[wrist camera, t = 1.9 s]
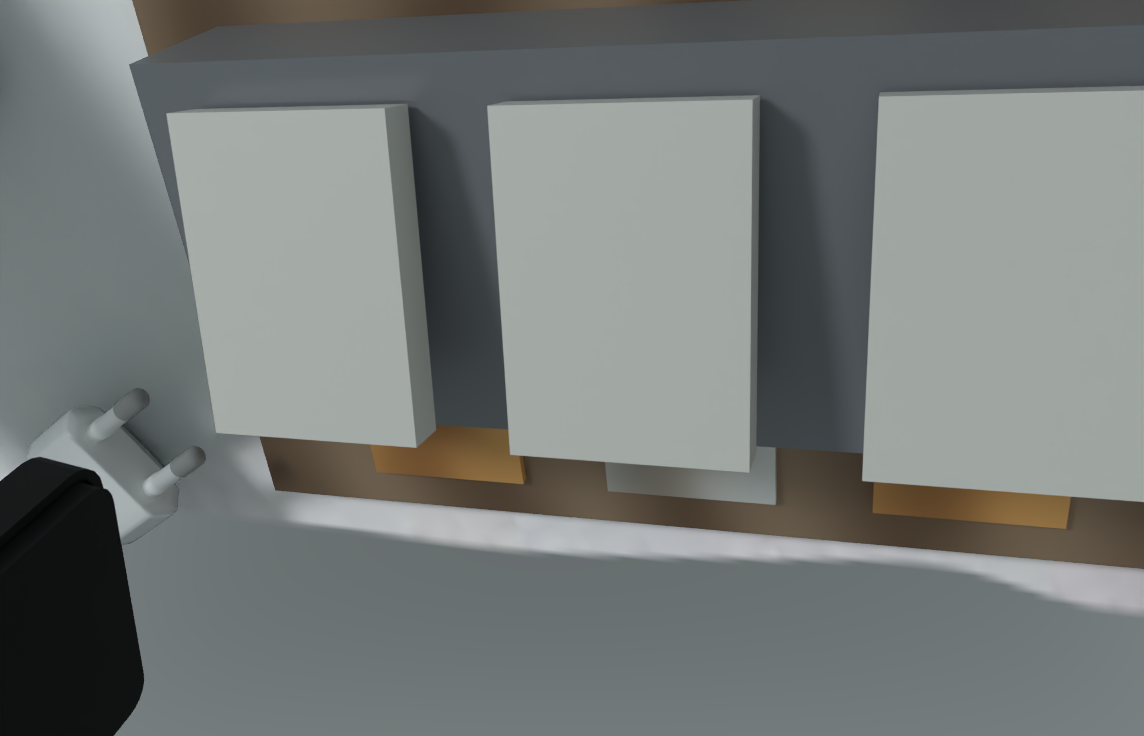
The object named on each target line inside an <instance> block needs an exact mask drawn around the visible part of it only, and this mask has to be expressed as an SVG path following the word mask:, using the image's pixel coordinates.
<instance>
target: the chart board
mask: <svg viewBox="0 0 1144 736" xmlns="http://www.w3.org/2000/svg"><path fill="white" fill-rule="evenodd" d="M132 1H133V4H134V8H135V11H136V15H137V18H138V22H139V25H140V28H141V32H142V35H143V39H144V42H145V46H146V49H147V52H148V56H150V55H153V54H155V53H157V52H159V51H162V50H164V49H166V48H169V47H171V46H173V45H176V44H178V43H180V42H183V41H185V40H187V39H190V38H192V37H194V36H197V35H199V34H201V33H204V32H206V31H208V30H211V29H213V28H215V27H218V26H237V25H257V24H278V23H298V22H318V21H338V20H358V19H378V18H399V17H419V16H439V15H459V14H479V13H500V12H520V11H540V10H560V9H580V8H600V7H621V6H641V5H661V4H681V3H701V2H721V1H742V0H132ZM260 439H261V443H262V446H263V450H264V453H265V456H266V460H267V463H268V467H269V470H270V474H271V477H272V480H273V484H274V487H275V490H278V491H289V492H300V493H311V494H322V495H333V496H344V497H355V498H366V499H377V500H388V501H400V502H411V503H422V504H433V505H444V506H455V507H466V508H477V509H488V510H499V511H510V512H521V513H532V514H543V515H555V516H566V517H577V518H588V519H599V520H610V521H621V522H632V523H643V524H654V525H665V526H676V527H687V528H698V529H710V530H721V531H732V532H743V533H754V534H765V535H776V536H787V537H798V538H809V539H820V540H831V541H842V542H853V543H865V544H876V545H887V546H898V547H909V548H920V549H931V550H942V551H953V552H964V553H975V554H986V555H997V556H1008V557H1020V558H1031V559H1042V560H1053V561H1064V562H1075V563H1086V564H1097V565H1108V566H1119V567H1130V568H1141V569H1144V502H1137V501H1124V500H1110V499H1097V498H1084V497H1070V496H1057V495H1043V494H1030V493H1016V492H1003V491H989V490H976V489H963V488H949V487H936V486H922V485H909V484H895V483H882V482H869V481H862V472H863V453H849V452H834V451H819V450H804V449H789V448H774V447H760V446H756V454H755V457H754V460H753V463H752V466H751V469H750V472H749V473H748V472H734V471H721V470H707V469H694V468H681V467H667V466H654V465H640V464H627V463H613V462H600V461H587V460H573V459H560V458H546V457H533V456H519V455H510V445H509V430H507V429H493V428H478V427H463V426H448V425H436V431H435V432H434V433H432V434H431V435H430V436H429V437H428V438H427V439H426V440H425V441H424V442H422V443H421V444H420V445H419V446H418V447H417V448H412V447H398V446H385V445H372V444H358V443H345V442H331V441H318V440H304V439H291V438H278V437H264V436H260Z"/></svg>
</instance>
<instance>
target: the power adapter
mask: <svg viewBox="0 0 1144 736" xmlns="http://www.w3.org/2000/svg"><path fill="white" fill-rule="evenodd" d="M149 401H150V398H149V395H148V393H147V392H146V391H145V390H143V389H140V388H136V389H133V390H131V391H130V392H128V393H127V394H126V395H125V396H124V397H122V398H121V399H120V400H119V401H118V402H117V403H115V404H114V406H113V407H112V408H111V409H110V410H109V411H107V412H104V411H103V410H102V409H100V408H99V407H73V408H72V409H70V410H69V411H67V412H66V413H65V414H64V415H62V416H61V417H60V418H59V419H58V420H57V421H56V422H54V423H53V424H52V425H51V426H50V427H49V428H47V429H46V430H45V431H44V432H43V433H42V434H41V435H39V436H38V437H37V438H36V439H35V440H34V441H33V442H32V443H31V444H30V446H29V450H28V455H27V460H29V459H31V458H36V457H43V458H47V459H51V460H55V461H59V462H63V463H67V464H70V465H74V466H78V467H82V468H86V469H89V470H93V471H95V472H96V473H97V474H98V475H99V476H100V478H101V481H102V484H103V488H104V489H108V491H109V492H110V493H111V494H112V497H113V500H114V504H115V510H116V516H117V522H118V527H119V533H120V539H121V545H124V544H129V543H132V542H134V541H135V540H137V539H139V538H140V537H142V536H143V535H144V534H146V533H147V532H149V531H150V530H151V529H153V528H154V527H156V526H157V525H159V524H160V523H162V522H163V521H164V520H166V519H167V518H169V517H170V516H171V515H173V514H174V513H175V512H176V511H177V507H178V492H179V488H178V486H177V485H176V484H175V483H176V482H177V481H179V480H180V479H181V478H183V477H186V476H187V475H189V474H190V473H191V472H193V471H194V470H195V469H197V468H198V467H200V466H201V465H202V464H203V463H204V462H205V460H206V454H205V452H204V450H203V449H202V448H200V447H197V446H192V447H189V448H188V449H186V450H185V451H184V452H182V453H181V454H180V455H178V456H177V457H176V458H174V459H173V460H172V461H171V463H169V464H168V465H167V466H165V467H164V468H163V467H162V466H161V464H160V463H159V462H158V461H157V460H156V459H155V457H154V456H153V455H152V454H151V453H150V452H149V451H148V450H147V449H146V448H145V447H144V446H143V445H142V444H141V443H140V442H139V441H138V440H137V439H136V438H135V437H134V436H133V435H132V434H131V433H130V432H129V431H128V430H127V429H126V428H125V427H124V426H123V424H124V423H125V422H127V421H128V420H130V419H132V418H133V417H134V416H135V415H137V414H138V413H139V412H140V411H142V410H143V409H144V408H145V407H147V405H148V404H149ZM27 460H26V461H27Z"/></svg>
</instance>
